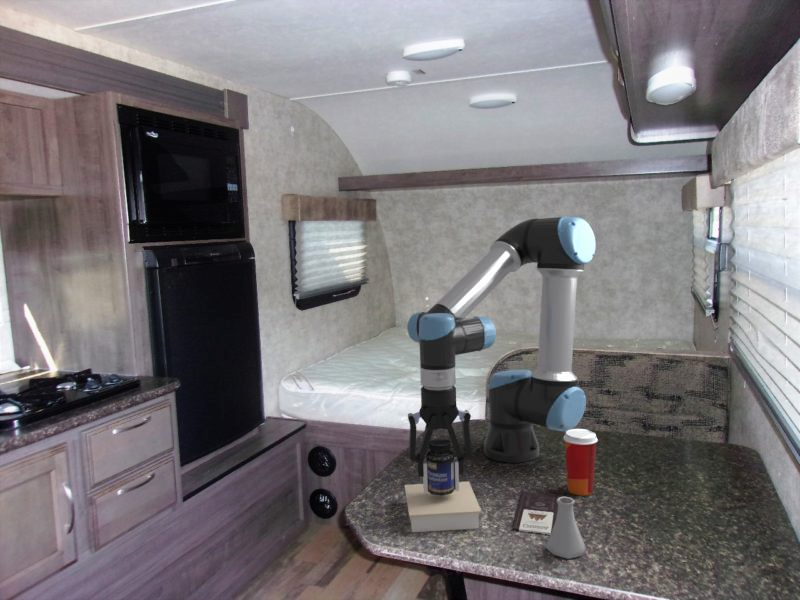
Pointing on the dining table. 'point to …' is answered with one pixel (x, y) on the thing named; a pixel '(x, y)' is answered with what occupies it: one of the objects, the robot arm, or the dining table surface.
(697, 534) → the dining table surface
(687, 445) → the dining table surface
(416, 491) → the podium
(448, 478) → the pill bottle
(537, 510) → the chocolate bar
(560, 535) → the flask
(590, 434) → the paper cup
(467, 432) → the robot arm
